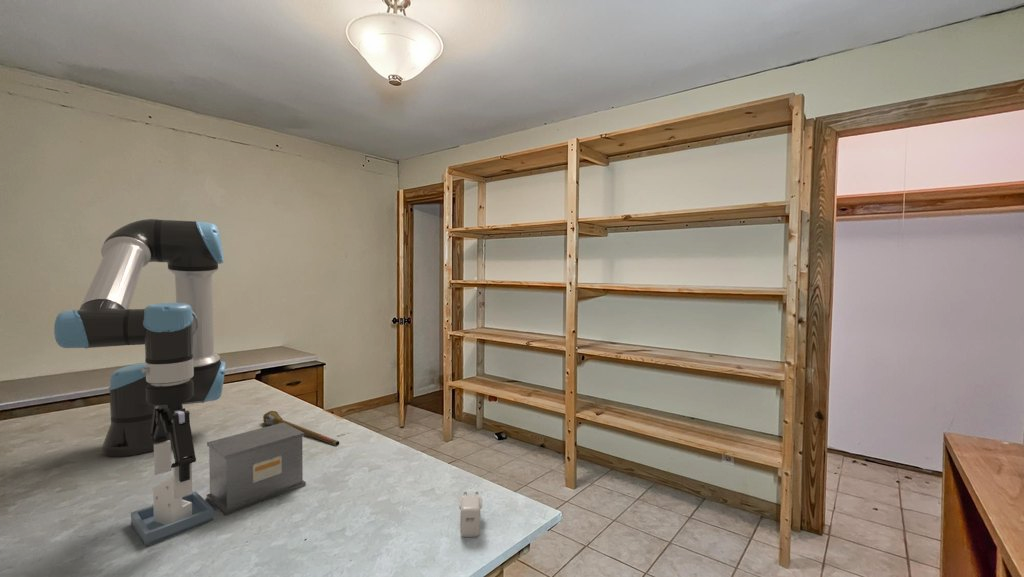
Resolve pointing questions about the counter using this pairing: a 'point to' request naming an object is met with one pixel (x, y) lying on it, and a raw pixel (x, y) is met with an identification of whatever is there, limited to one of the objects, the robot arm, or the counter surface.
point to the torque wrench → (274, 418)
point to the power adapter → (470, 515)
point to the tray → (158, 532)
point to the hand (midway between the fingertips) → (172, 483)
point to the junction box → (254, 467)
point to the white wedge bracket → (169, 504)
